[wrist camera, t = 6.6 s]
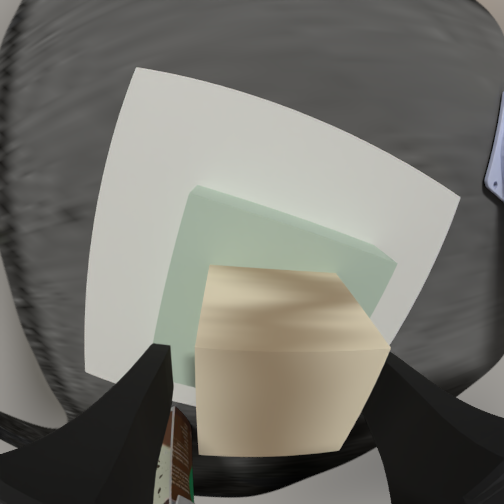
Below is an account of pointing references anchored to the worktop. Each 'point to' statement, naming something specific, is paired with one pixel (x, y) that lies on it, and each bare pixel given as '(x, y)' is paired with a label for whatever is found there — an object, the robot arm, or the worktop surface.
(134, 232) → the base board
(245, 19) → the worktop surface
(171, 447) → the food container
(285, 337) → the maple cube
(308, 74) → the worktop surface
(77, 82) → the worktop surface
